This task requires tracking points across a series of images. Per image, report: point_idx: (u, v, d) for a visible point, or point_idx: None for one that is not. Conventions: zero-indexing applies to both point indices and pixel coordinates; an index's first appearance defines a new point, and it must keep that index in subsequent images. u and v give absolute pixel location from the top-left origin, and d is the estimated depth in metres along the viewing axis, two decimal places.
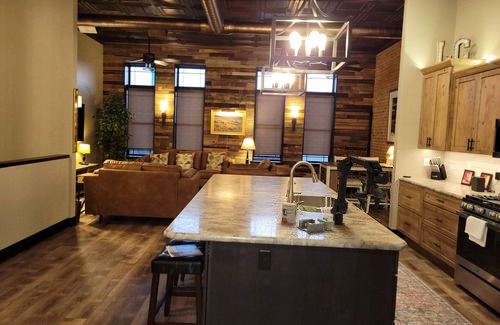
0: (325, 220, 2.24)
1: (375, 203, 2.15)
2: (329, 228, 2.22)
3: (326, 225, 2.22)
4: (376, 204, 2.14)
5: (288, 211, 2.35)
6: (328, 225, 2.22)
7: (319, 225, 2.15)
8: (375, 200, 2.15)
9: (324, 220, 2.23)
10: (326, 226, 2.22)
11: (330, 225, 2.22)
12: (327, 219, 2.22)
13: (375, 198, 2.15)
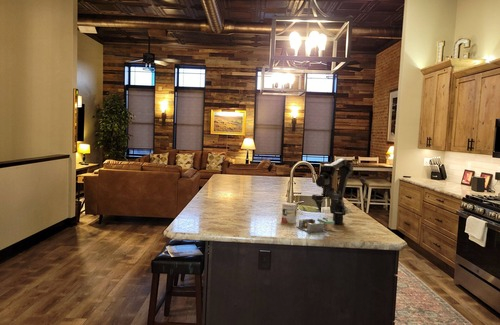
0: (325, 220, 2.24)
1: (332, 205, 2.27)
2: (329, 228, 2.22)
3: (326, 225, 2.22)
4: (333, 206, 2.26)
5: (288, 211, 2.35)
6: (328, 225, 2.22)
7: (319, 225, 2.15)
8: (332, 202, 2.28)
9: (324, 220, 2.23)
10: (326, 226, 2.22)
11: (330, 225, 2.22)
12: (327, 219, 2.22)
13: (332, 200, 2.28)
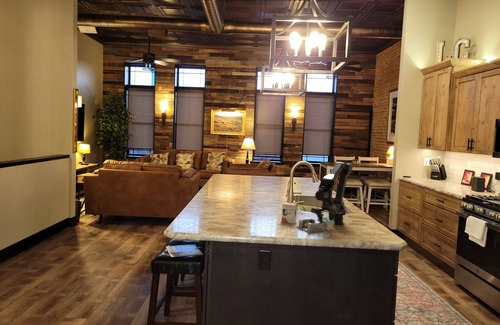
0: (325, 220, 2.24)
1: (329, 218, 2.27)
2: (329, 228, 2.22)
3: (326, 225, 2.22)
4: (330, 219, 2.26)
5: (288, 211, 2.35)
6: (328, 225, 2.22)
7: (319, 225, 2.15)
8: (329, 215, 2.28)
9: (324, 220, 2.23)
10: (326, 226, 2.22)
11: (330, 225, 2.22)
12: (327, 219, 2.22)
13: (329, 213, 2.28)
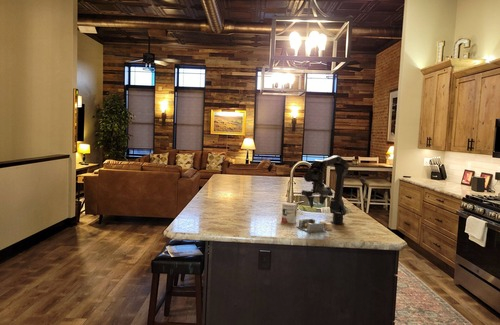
0: (316, 203, 2.19)
1: (320, 201, 2.22)
2: (329, 228, 2.22)
3: (326, 225, 2.22)
4: (321, 202, 2.21)
5: (289, 211, 2.35)
6: (328, 225, 2.22)
7: (319, 225, 2.15)
8: (320, 199, 2.23)
9: (315, 203, 2.18)
10: (326, 226, 2.22)
11: (330, 225, 2.22)
12: (318, 202, 2.17)
13: (320, 197, 2.23)
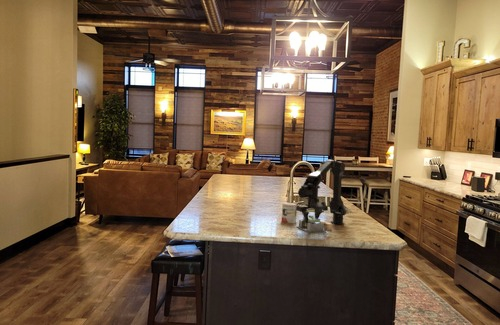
0: (311, 218, 2.18)
1: (315, 216, 2.22)
2: (329, 228, 2.22)
3: (326, 225, 2.22)
4: (316, 217, 2.21)
5: (288, 211, 2.35)
6: (328, 225, 2.22)
7: (319, 225, 2.15)
8: (315, 213, 2.22)
9: (310, 218, 2.18)
10: (326, 226, 2.22)
11: (330, 225, 2.22)
12: (313, 217, 2.17)
13: (315, 211, 2.22)
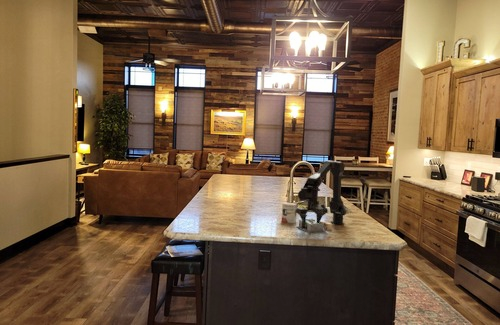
0: (310, 222, 2.18)
1: (317, 218, 2.22)
2: (329, 228, 2.22)
3: (326, 225, 2.22)
4: (318, 219, 2.22)
5: (288, 211, 2.35)
6: (328, 225, 2.22)
7: (319, 225, 2.15)
8: (317, 215, 2.23)
9: (309, 222, 2.18)
10: (326, 226, 2.22)
11: (330, 225, 2.22)
12: (312, 221, 2.17)
13: (317, 213, 2.23)
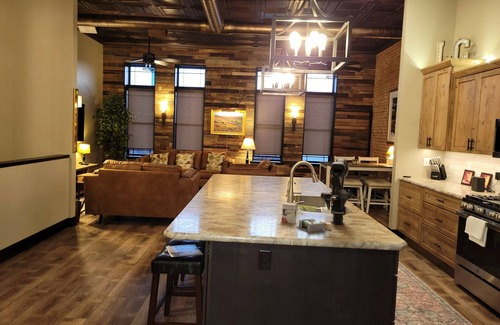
0: (310, 222, 2.18)
1: (341, 203, 2.26)
2: (329, 228, 2.22)
3: (326, 225, 2.22)
4: (342, 204, 2.25)
5: (289, 211, 2.35)
6: (328, 225, 2.22)
7: (319, 225, 2.15)
8: (341, 200, 2.26)
9: (309, 222, 2.18)
10: (326, 226, 2.22)
11: (330, 225, 2.22)
12: (312, 221, 2.17)
13: (341, 198, 2.26)
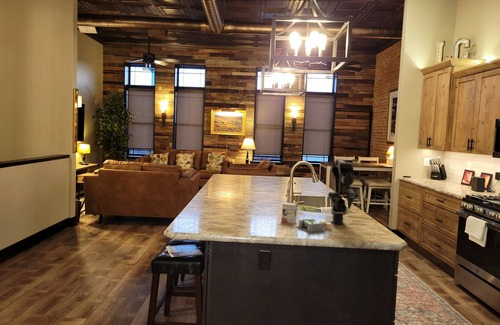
0: (310, 222, 2.18)
1: (348, 203, 2.27)
2: (329, 228, 2.22)
3: (326, 225, 2.22)
4: (349, 204, 2.26)
5: (288, 211, 2.35)
6: (328, 225, 2.22)
7: (319, 225, 2.15)
8: (348, 200, 2.27)
9: (309, 222, 2.18)
10: (326, 226, 2.22)
11: (330, 225, 2.22)
12: (312, 221, 2.17)
13: (348, 198, 2.28)
